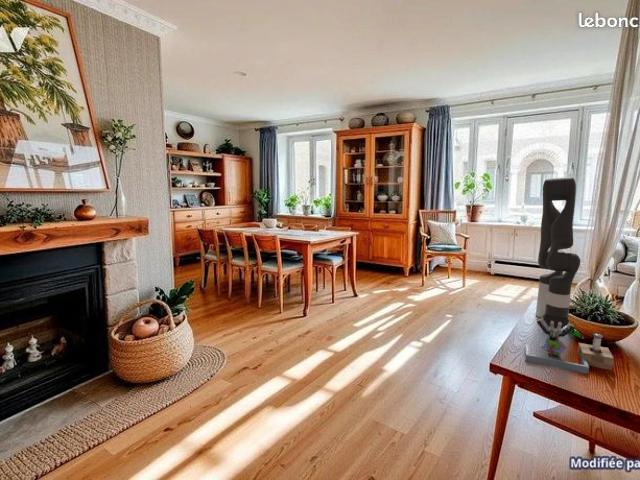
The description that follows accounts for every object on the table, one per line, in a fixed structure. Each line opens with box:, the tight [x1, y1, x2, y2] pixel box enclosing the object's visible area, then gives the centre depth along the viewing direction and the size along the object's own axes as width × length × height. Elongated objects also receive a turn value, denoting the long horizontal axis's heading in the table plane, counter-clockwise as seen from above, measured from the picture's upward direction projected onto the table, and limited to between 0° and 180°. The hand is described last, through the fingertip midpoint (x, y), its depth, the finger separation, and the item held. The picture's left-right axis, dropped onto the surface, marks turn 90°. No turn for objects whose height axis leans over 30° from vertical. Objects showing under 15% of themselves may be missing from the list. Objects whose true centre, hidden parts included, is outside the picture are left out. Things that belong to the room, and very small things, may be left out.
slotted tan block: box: [576, 342, 615, 371], centre depth 133 cm, size 9×9×4 cm
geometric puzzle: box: [541, 338, 567, 358], centre depth 137 cm, size 7×7×8 cm
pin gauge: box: [592, 333, 603, 353], centre depth 132 cm, size 3×3×11 cm
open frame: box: [524, 343, 590, 375], centre depth 133 cm, size 10×19×2 cm, turn 62°
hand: (552, 344), depth 141 cm, fingers closed
